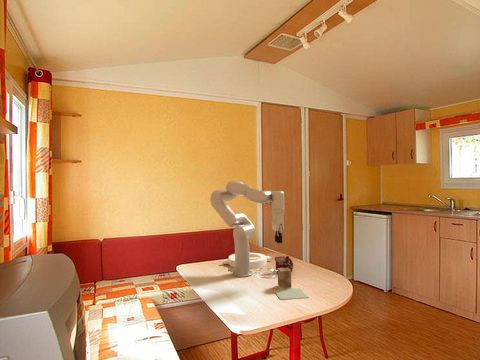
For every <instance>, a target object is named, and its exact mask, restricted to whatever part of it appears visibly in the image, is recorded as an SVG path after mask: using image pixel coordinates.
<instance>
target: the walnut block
mask: <svg viewBox="0 0 480 360" xmlns="http://www.w3.org/2000/svg"><path fill="white" fill-rule="evenodd" d="M277 286H278V288H279V290H282V289H292V272H291V270H290V269H289V268H278V271H277Z"/></svg>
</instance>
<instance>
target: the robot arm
mask: <svg viewBox="0 0 480 360" xmlns="http://www.w3.org/2000/svg"><path fill="white" fill-rule="evenodd" d="M238 196H239V197H242V198H245V199H246V200H248V201H250V202H253V203H254V202H255V203H258V204H269V203H270V204H271V214H272V219H271V220H272V223H271V224H272V225H271V229H272V230H273V231H274V243H277V244H282V243H283V231H284V230H285V221H284V220H285V219H284V215H285V213H286V212H285V192H284V191H283V190H258V189H254V188H252V186H251V185H250V184H248V183H244V182H242V181H240V180H231V181H229V182H228V181H227V183H226V184H225V188H223V189H216V190H213V191H212V193H211V194H210V204H211V207H212V208H213V209H214V210H215V211H216V213H217V214H218V215H219V216H220V218H221V219H222V220H223V222H225V224H226V225H227V227H229V228H234V229H233V233H232V235H233V240H234V254H235V266H234V267H232V268H230V267H228V268H227V272H230V273H232V275H233V276H235V277H237V278H238V277H239V278H245V277H251V276H252V275H253V271H252V270H251V268H250V253H251V251H250V243H249V239H250V238H253V237H254V236H256V233H257V232H256V226H255V225H254V224H253V223H252V221H251V220H250V219H249V218H248V217H247V216H246V215H245V213H243V212H241V211H234V210H233V209H232V208H231V207H230V206H229V205H228V204H227V203H225V202H229V201H232V200H234V199H235V198H236V197H238Z"/></svg>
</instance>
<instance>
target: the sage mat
mask: <svg viewBox="0 0 480 360" xmlns="http://www.w3.org/2000/svg"><path fill="white" fill-rule="evenodd" d="M273 292H274V294H275V295H276V296H277V297H278V299H279V300H280V301H283V300H296V299H297V300H298V299H299V300H300V299H309V296H308V294H306V293H305V292H304V290H303V289H301V288H298V287H297V288H291V289H282V290H281V289H273Z"/></svg>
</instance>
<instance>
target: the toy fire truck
mask: <svg viewBox="0 0 480 360" xmlns="http://www.w3.org/2000/svg"><path fill="white" fill-rule="evenodd" d="M274 261H275V270H276V271H277V270H278V268H289V269H290V270H291V273H292V272H293V269H294V263H293V260H292V258H290V256H289V255H286V256H284V255H282V256H281V255H280V256H275V257H274Z"/></svg>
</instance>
